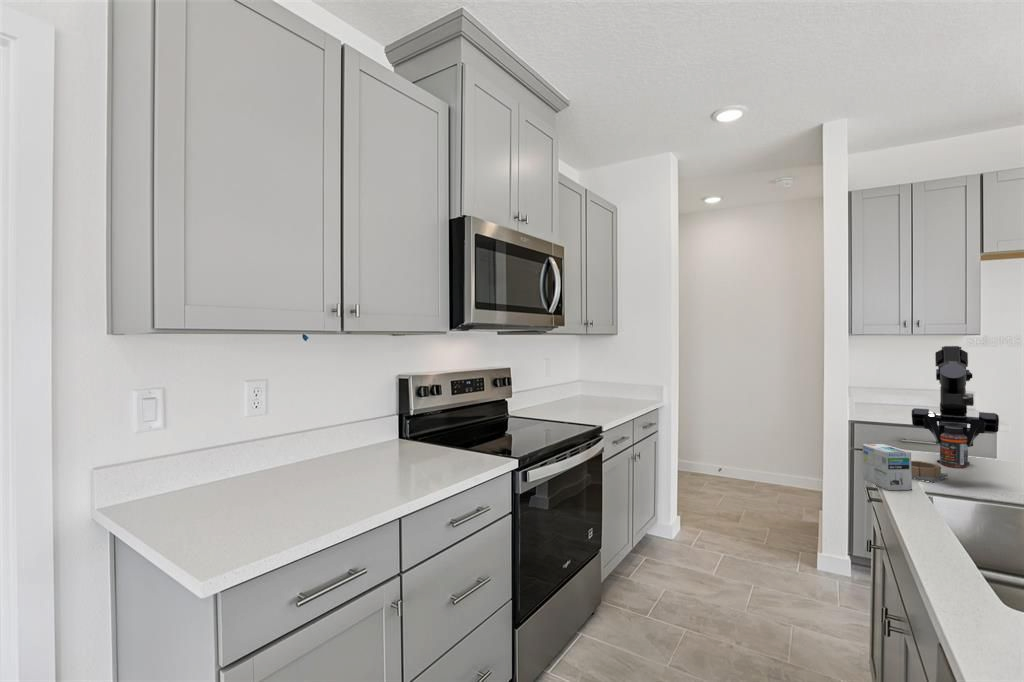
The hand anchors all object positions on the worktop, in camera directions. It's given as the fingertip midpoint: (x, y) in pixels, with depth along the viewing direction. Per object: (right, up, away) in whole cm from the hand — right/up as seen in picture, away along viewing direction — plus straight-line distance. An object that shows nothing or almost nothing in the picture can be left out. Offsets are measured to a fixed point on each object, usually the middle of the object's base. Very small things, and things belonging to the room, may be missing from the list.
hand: (953, 444), depth 140 cm
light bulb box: (-17, -13, +3) cm, 21 cm away
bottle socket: (-1, -12, +10) cm, 16 cm away
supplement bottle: (+1, -7, +1) cm, 7 cm away
